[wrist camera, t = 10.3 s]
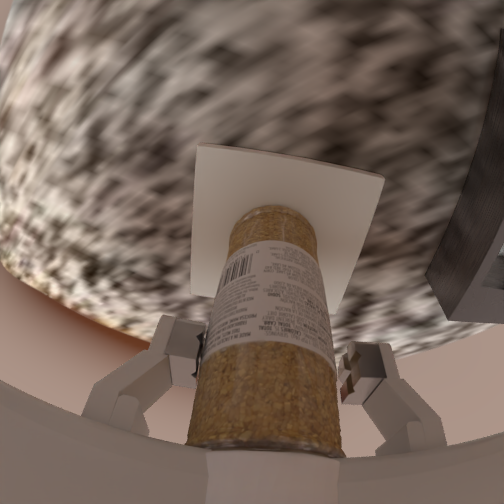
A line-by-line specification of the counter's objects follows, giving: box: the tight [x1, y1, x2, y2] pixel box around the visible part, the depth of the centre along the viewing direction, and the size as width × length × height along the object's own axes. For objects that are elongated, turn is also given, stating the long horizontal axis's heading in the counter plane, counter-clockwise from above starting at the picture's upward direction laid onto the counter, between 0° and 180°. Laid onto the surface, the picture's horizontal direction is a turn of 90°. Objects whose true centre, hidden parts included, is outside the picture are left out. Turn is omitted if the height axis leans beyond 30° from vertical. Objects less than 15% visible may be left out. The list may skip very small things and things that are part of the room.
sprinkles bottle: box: [184, 206, 346, 504], centre depth 11 cm, size 5×5×14 cm
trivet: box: [190, 143, 385, 315], centre depth 16 cm, size 9×9×1 cm
